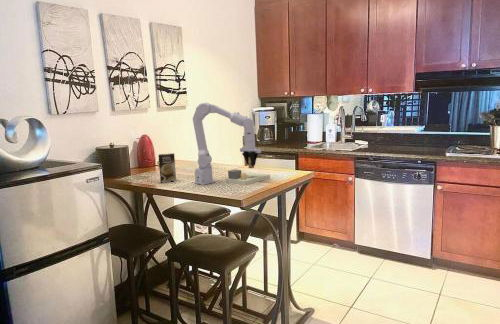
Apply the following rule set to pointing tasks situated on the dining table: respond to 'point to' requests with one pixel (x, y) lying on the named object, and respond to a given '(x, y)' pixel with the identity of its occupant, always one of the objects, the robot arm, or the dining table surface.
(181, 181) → the dining table surface
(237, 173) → the grey chamfered cube
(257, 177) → the pin board
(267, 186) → the dining table surface
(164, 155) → the coffee box
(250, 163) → the pin
